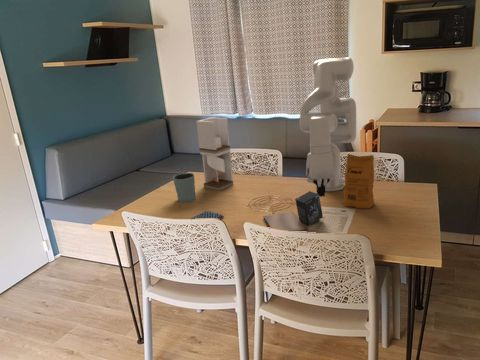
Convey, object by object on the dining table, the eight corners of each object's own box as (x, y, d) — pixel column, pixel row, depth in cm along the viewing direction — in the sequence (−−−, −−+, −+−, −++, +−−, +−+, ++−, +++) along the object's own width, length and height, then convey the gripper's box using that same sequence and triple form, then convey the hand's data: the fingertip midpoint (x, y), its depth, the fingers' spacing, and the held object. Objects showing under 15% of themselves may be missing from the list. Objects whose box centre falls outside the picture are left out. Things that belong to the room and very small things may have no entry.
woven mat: (208, 227, 163) (207, 223, 163) (190, 222, 170) (189, 218, 170) (225, 218, 171) (225, 214, 170) (207, 213, 178) (207, 209, 177)
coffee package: (347, 198, 179) (347, 150, 173) (376, 202, 173) (377, 152, 166) (340, 206, 171) (340, 156, 165) (370, 210, 165) (371, 158, 158)
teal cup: (201, 198, 196) (198, 174, 193) (185, 204, 190) (181, 180, 186) (187, 194, 203) (184, 171, 200) (171, 200, 196) (168, 177, 193)
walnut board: (292, 214, 167) (292, 211, 167) (308, 232, 151) (307, 228, 150) (263, 219, 165) (263, 216, 165) (275, 237, 149) (275, 233, 148)
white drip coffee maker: (204, 186, 212) (196, 121, 202) (218, 181, 220) (211, 117, 209) (219, 190, 205) (212, 122, 194) (233, 184, 213) (227, 118, 202)
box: (308, 226, 155) (304, 202, 151) (299, 222, 160) (294, 198, 156) (323, 217, 159) (319, 193, 155) (313, 213, 163) (309, 190, 159)
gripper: (334, 145, 156) (334, 190, 161) (297, 149, 153) (299, 195, 159) (343, 148, 149) (343, 195, 154) (305, 153, 146) (306, 201, 152)
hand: (321, 195), depth 156 cm, fingers closed
